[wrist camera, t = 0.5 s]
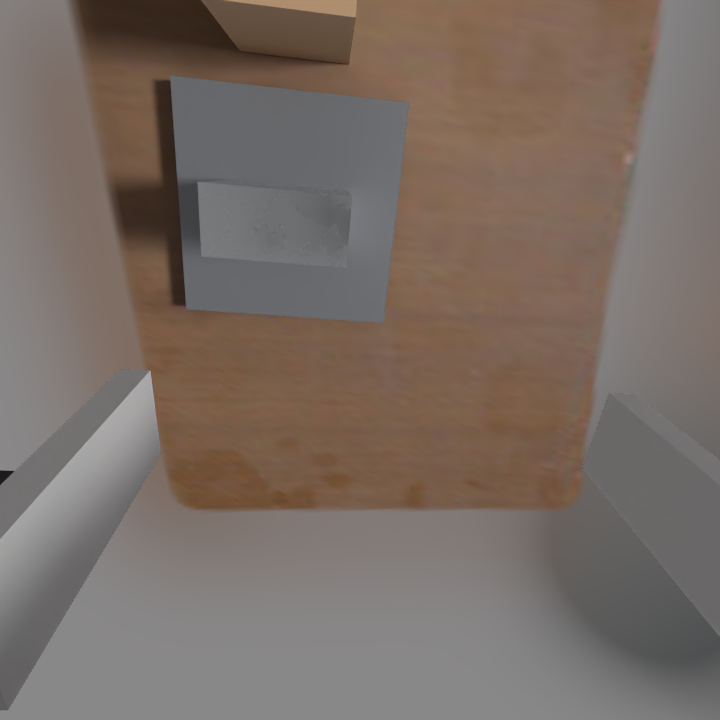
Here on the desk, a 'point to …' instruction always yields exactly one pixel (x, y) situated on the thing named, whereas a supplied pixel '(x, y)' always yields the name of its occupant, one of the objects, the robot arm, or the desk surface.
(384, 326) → the desk surface
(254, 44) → the tan block with dome
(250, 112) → the grey square plate
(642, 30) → the desk surface
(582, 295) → the desk surface
